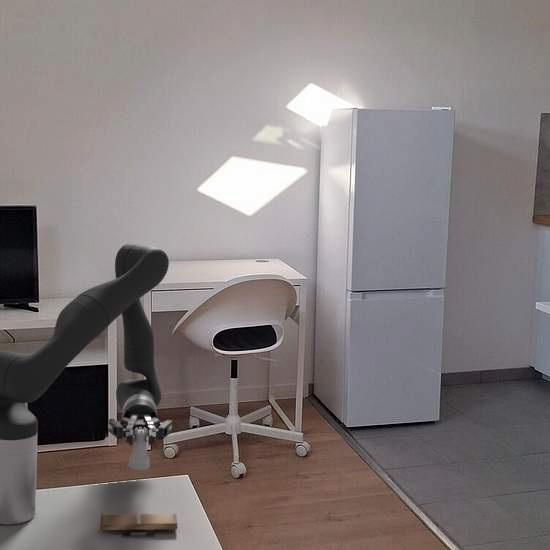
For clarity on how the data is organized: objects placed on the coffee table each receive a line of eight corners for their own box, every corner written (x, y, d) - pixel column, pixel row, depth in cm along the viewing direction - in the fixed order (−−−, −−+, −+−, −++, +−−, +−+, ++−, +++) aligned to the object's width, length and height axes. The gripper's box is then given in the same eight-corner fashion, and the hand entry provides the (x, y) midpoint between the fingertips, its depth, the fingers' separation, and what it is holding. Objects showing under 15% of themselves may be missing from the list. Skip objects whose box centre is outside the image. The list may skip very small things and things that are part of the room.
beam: (99, 530, 162) (99, 524, 162) (100, 520, 167) (100, 514, 167) (177, 529, 165) (177, 523, 165) (175, 519, 170) (176, 513, 169)
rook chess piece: (151, 463, 174) (153, 426, 173) (148, 471, 169) (150, 433, 168) (129, 462, 174) (131, 424, 173) (126, 470, 169) (128, 431, 168)
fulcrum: (122, 537, 162) (122, 533, 162) (122, 522, 169) (123, 519, 169) (154, 536, 163) (154, 533, 163) (153, 522, 170) (153, 518, 170)
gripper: (107, 397, 183) (106, 421, 166) (172, 399, 185) (177, 423, 169) (106, 430, 184) (104, 458, 167) (170, 431, 186) (175, 459, 169)
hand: (141, 440), depth 168 cm, fingers closed on rook chess piece, 3 cm apart
